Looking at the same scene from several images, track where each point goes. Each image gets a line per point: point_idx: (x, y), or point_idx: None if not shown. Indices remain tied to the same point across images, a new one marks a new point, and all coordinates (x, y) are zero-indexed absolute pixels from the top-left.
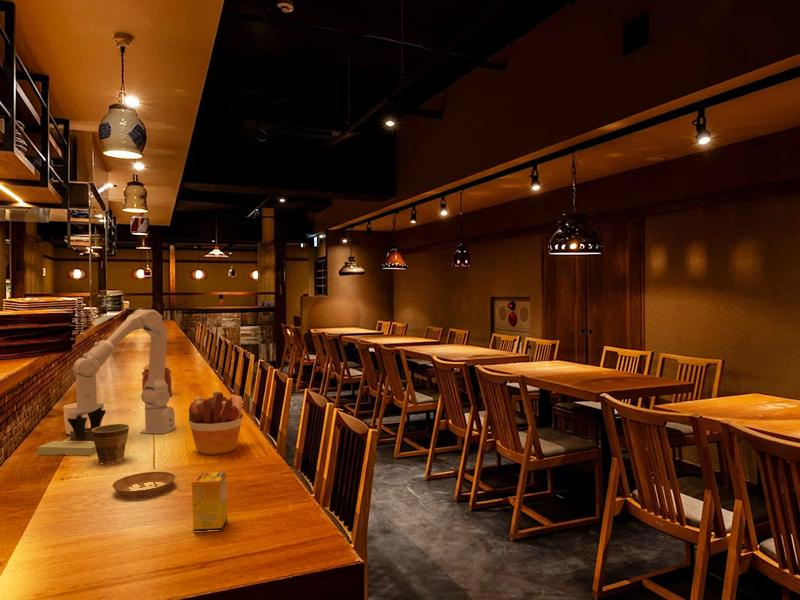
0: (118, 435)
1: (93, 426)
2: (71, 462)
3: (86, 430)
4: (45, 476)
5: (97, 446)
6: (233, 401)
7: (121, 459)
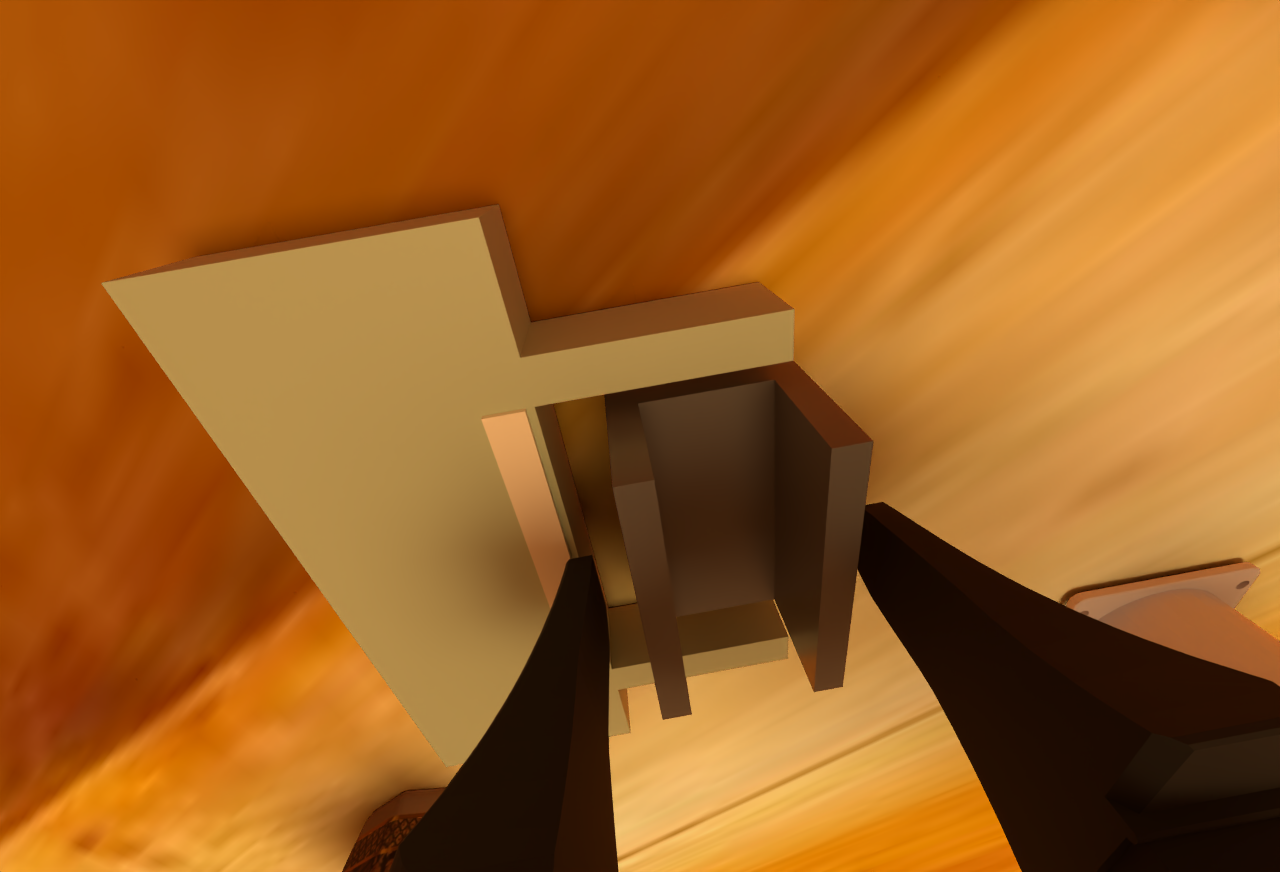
0: None
1: (904, 583)
2: (288, 700)
3: (809, 531)
4: (8, 773)
5: None
6: None
7: None
